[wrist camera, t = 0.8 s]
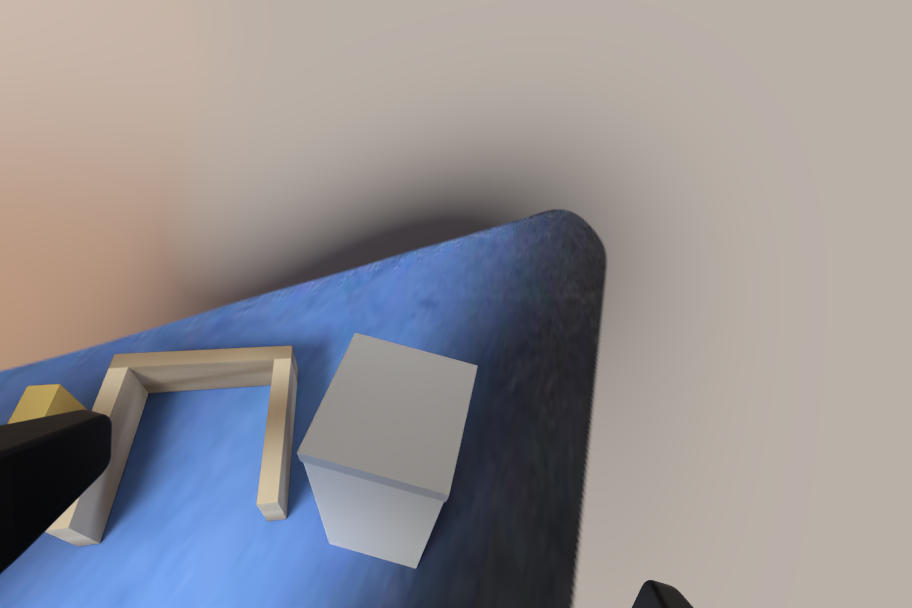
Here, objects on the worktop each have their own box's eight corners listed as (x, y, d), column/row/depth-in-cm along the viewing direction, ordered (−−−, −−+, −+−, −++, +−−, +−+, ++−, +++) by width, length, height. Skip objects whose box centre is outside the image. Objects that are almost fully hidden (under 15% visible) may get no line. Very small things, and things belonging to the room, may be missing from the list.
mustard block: (68, 476, 19) (28, 450, 17) (36, 479, 19) (-9, 453, 17) (93, 415, 21) (60, 383, 19) (64, 417, 21) (27, 386, 19)
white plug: (416, 570, 19) (448, 495, 11) (327, 544, 19) (296, 452, 11) (439, 478, 22) (477, 365, 14) (361, 456, 22) (355, 332, 14)
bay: (286, 518, 19) (277, 502, 17) (77, 546, 18) (42, 531, 16) (298, 370, 24) (292, 345, 22) (135, 380, 22) (114, 354, 21)
